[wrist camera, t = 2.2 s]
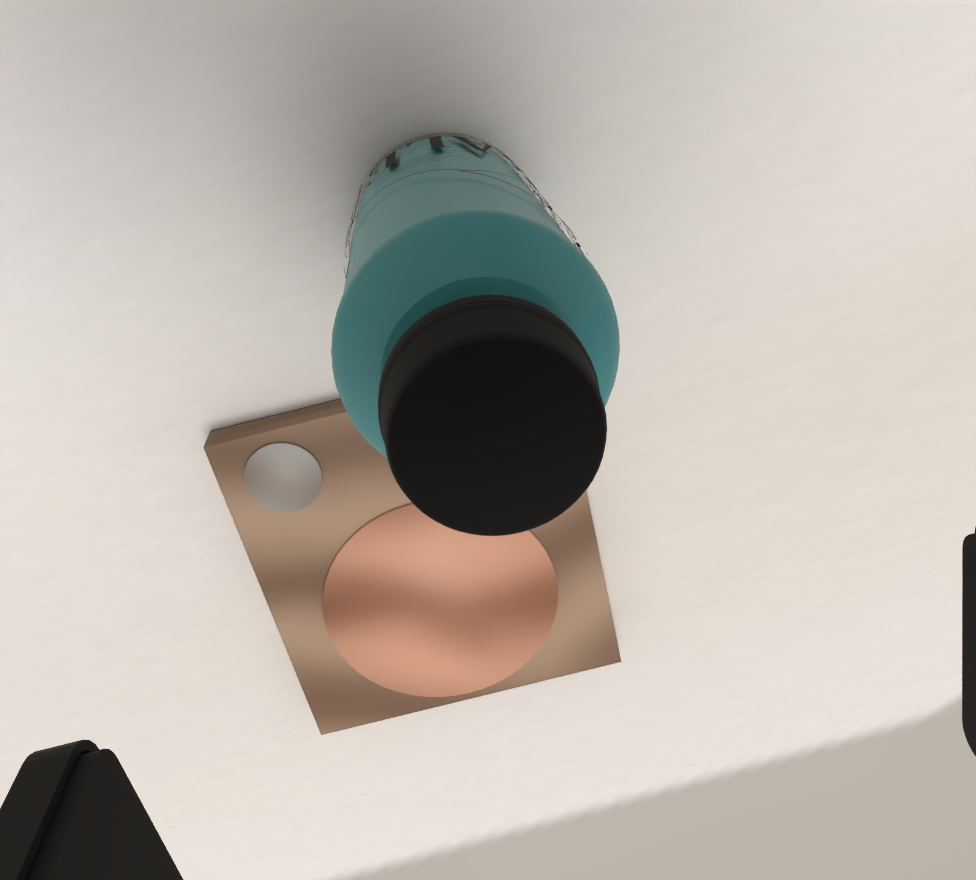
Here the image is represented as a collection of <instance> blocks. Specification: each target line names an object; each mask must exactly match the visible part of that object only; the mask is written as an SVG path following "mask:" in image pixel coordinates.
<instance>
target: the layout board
mask: <svg viewBox="0 0 976 880" xmlns="http://www.w3.org/2000/svg"><path fill="white" fill-rule="evenodd" d="M204 450H205V452H206V455H207V457H208V459H209V462H210V464H211V467H212V469H213V472H214V474H215V477H216V479H217V481H218V484H219V486H220V489H221V491H222V494H223V496H224V499H225V501H226V503H227V506H228V508H229V511H230V513H231V516H232V518H233V520H234V523H235V525H236V528H237V530H238V533H239V535H240V538H241V540H242V542H243V545H244V547H245V550H246V552H247V555H248V557H249V560H250V562H251V564H252V567H253V569H254V572H255V574H256V577H257V579H258V582H259V584H260V586H261V589H262V591H263V594H264V596H265V599H266V601H267V604H268V606H269V608H270V611H271V613H272V616H273V618H274V621H275V623H276V626H277V628H278V630H279V633H280V635H281V638H282V640H283V643H284V645H285V648H286V650H287V652H288V655H289V657H290V660H291V662H292V665H293V667H294V670H295V672H296V674H297V677H298V679H299V682H300V684H301V687H302V689H303V691H304V694H305V696H306V699H307V701H308V704H309V706H310V709H311V711H312V713H313V716H314V718H315V721H316V723H317V726H318V728H319V731H320V733H321V735H323V734H327V733H331V732H336V731H340V730H344V729H348V728H352V727H356V726H360V725H364V724H368V723H372V722H377V721H381V720H385V719H389V718H393V717H397V716H401V715H405V714H409V713H413V712H417V711H422V710H426V709H430V708H434V707H438V706H442V705H446V704H450V703H454V702H458V701H463V700H467V699H471V698H475V697H479V696H483V695H487V694H491V693H495V692H499V691H503V690H508V689H512V688H516V687H520V686H524V685H528V684H532V683H536V682H540V681H544V680H549V679H553V678H557V677H561V676H565V675H569V674H573V673H577V672H581V671H585V670H589V669H594V668H598V667H602V666H606V665H610V664H614V663H618V662H621V658H620V653H619V648H618V643H617V638H616V634H615V629H614V624H613V619H612V614H611V609H610V604H609V599H608V594H607V589H606V585H605V580H604V575H603V570H602V565H601V560H600V555H599V550H598V545H597V540H596V536H595V531H594V526H593V521H592V516H591V511H590V506H589V501H588V496H587V491H585V492H584V493H583V494H582V495H581V497H580V498H579V499H578V500H577V501H576V502H575V503H574V504H573V505H572V506H571V507H570V508H569V509H567V510H566V511H565V512H563V513H562V514H561V515H559V516H558V517H556V518H555V519H553V520H551V521H549V522H548V523H546V524H543V525H541V526H539V527H536V528H534V529H531V530H528V531H524V532H521V533H516V534H511V535H502V536H481V535H474V534H468V533H464V532H460V531H456V530H454V529H451V528H448V527H446V526H444V525H442V524H440V523H438V522H436V521H434V520H433V519H431V518H429V517H428V516H426V515H425V514H424V513H422V512H421V511H420V510H419V509H418V508H417V507H416V506H415V505H414V504H413V503H412V502H411V501H410V500H409V499H408V498H407V496H406V495H405V494H404V493H403V491H402V490H401V488H400V487H399V485H398V484H397V482H396V480H395V478H394V476H393V474H392V472H391V469H390V466H389V462H388V459H387V458H386V457H385V456H383V455H382V454H381V453H379V452H378V451H377V450H376V449H375V448H374V447H373V446H372V445H371V444H370V443H369V442H368V441H367V440H366V439H365V438H364V437H363V435H362V434H361V433H360V432H359V431H358V429H357V428H356V426H355V425H354V423H353V422H352V420H351V419H350V417H349V415H348V413H347V411H346V409H345V407H344V405H343V403H342V401H341V399H338V400H334V401H330V402H326V403H322V404H318V405H314V406H310V407H306V408H302V409H298V410H294V411H290V412H286V413H282V414H278V415H274V416H269V417H265V418H261V419H257V420H253V421H249V422H245V423H241V424H237V425H233V426H229V427H225V428H221V429H217V430H213V431H210V434H209V436H208V438H207V441H206V443H205V445H204Z"/></svg>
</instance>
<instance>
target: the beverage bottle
mask: <svg viewBox="0 0 976 880" xmlns="http://www.w3.org/2000/svg"><path fill="white" fill-rule="evenodd" d="M433 134H436V133H433ZM456 134H458V133H456ZM428 135H429V134H428ZM437 135H438V134H437ZM439 135H440V134H439ZM441 135H442V134H441ZM444 135H445V134H444ZM446 135H447V134H446ZM448 135H449V134H448ZM451 135H452V134H451ZM453 135H455V134H453ZM462 135H463V134H462ZM423 136H424V135H423ZM430 136H431V135H430ZM432 136H433V135H432ZM460 136H461V135H460ZM467 136H468V135H467ZM419 137H420V136H419ZM425 137H426V136H425ZM427 137H428V136H427ZM465 137H466V136H465ZM471 137H472V136H471ZM471 137H470V138H471ZM416 138H417V137H416ZM420 138H421V137H420ZM422 138H423V137H422ZM474 138H475V137H474ZM413 139H414V138H413ZM417 139H418V138H417ZM468 139H469V138H468ZM410 140H411V139H410ZM415 140H416V139H415ZM408 141H409V140H408ZM412 141H413V140H412ZM482 141H483V140H482ZM406 142H407V141H406ZM409 142H411V141H409ZM404 143H405V142H404ZM407 143H408V142H407ZM481 143H482V142H481ZM484 143H485V141H484ZM402 144H403V143H402ZM486 144H487V142H486ZM488 144H489V143H488ZM398 146H399V145H398ZM401 146H402V145H401ZM490 146H491V145H490ZM490 146H488V145H486V146H484V145H481V144H478V143H476V142H473V141H470V140H467V139H465V138H464V137H458V136H451V137H442V136H436V137H430V138H429V139H427V138H425V139H424V140H422V139H421V140H420V141H419V140H418V141H417V142H416V141H415V142H412V143H409V144H407V146H405V147H403V148H401V149H400V148H399V149H400V150H398V149H397V148H396V147H395V148H396V149H397V150H398V151H397V150H396V151H397V152H396V151H394V152H393V153H391V154H390V155H388V156H387V155H386V156H387V157H386V156H385V155H384V156H385V157H386V160H385V161H384V162H383V163H382V164H381V165H380V166H379V167H378V169H377V170H376V171H375V172H374V174H373V175H372V177H371V178H370V180H369V182H368V184H367V186H366V188H365V190H364V192H363V195H362V198H361V201H360V205H359V210H358V214H357V219H356V223H355V228H354V232H353V236H352V241H351V247H350V251H349V253H350V254H349V263H348V269H347V275H346V276H345V277H346V283H345V288H344V293H343V296H342V299H341V302H340V305H339V307H338V310H337V313H336V318H335V323H334V327H333V334H332V348H331V354H332V368H333V373H334V378H335V383H336V387H337V390H338V392H339V395H340V398H341V401H342V403H343V405H344V407H345V409H346V411H347V413H348V415H349V417H350V419H351V420H352V422H353V423H354V425H355V426H356V428H357V429H358V431H359V432H360V433H361V434H362V435H363V437H364V438H365V439H366V440H367V441H368V442H369V443H370V444H371V445H372V446H373V447H374V448H375V449H376V450H377V451H378V452H379V453H381V454H382V455H383V456H385V457H386V458H387V459H388V462H389V466H390V469H391V472H392V474H393V476H394V478H395V480H396V482H397V484H398V485H399V487H400V488H401V490H402V491H403V493H404V494H405V495H406V496H407V498H408V499H409V500H410V501H411V502H412V503H413V504H414V505H415V506H416V507H417V508H418V509H419V510H420V511H421V512H422V513H424V514H425V515H426V516H428V517H429V518H431V519H433V520H434V521H436V522H438V523H440V524H442V525H444V526H446V527H448V528H451V529H454V530H456V531H460V532H464V533H468V534H474V535H481V536H502V535H511V534H516V533H521V532H524V531H528V530H531V529H534V528H536V527H539V526H541V525H543V524H546V523H548V522H549V521H551V520H553V519H555V518H556V517H558V516H559V515H561V514H562V513H563V512H565V511H566V510H567V509H569V508H570V507H571V506H572V505H573V504H574V503H575V502H576V501H577V500H578V499H579V498H580V497H581V495H582V494H583V493H584V492H585V491H586V490H587V488H588V487H589V485H590V484H591V482H592V481H593V479H594V477H595V475H596V473H597V471H598V469H599V466H600V463H601V460H602V458H603V453H604V449H605V443H606V433H607V422H606V413H605V408H604V407H605V405H606V403H607V401H608V399H609V396H610V393H611V391H612V388H613V385H614V381H615V377H616V373H617V369H618V360H619V351H620V349H619V329H618V323H617V316H616V313H615V310H614V306H613V303H612V300H611V297H610V295H609V293H608V290H607V288H606V286H605V284H604V282H603V280H602V279H601V277H600V276H599V274H598V272H597V271H596V269H595V268H594V266H593V265H592V264H591V263H590V262H589V260H588V259H587V258H586V257H585V256H584V254H583V252H582V251H580V250H581V249H580V248H579V249H580V250H579V249H578V247H580V245H579V244H578V243H577V242H576V243H575V244H577V245H576V246H578V247H576V246H575V245H574V244H572V243H571V241H570V240H569V239H568V237H567V236H566V235H565V234H564V231H562V230H561V228H560V226H558V225H559V223H558V225H557V223H556V222H557V221H556V222H555V221H554V220H555V217H554V220H553V217H551V216H550V214H549V213H548V212H547V210H546V209H545V208H546V207H547V206H548V207H549V208H550V211H552V209H553V208H551V206H549V205H547V204H548V203H547V201H545V202H546V203H547V204H546V203H545V202H544V201H543V199H542V198H543V197H542V198H540V197H539V198H540V199H539V200H541V203H542V204H544V203H545V204H546V205H547V206H546V205H545V206H546V207H545V206H544V207H545V208H544V207H543V206H542V204H541V203H540V202H539V200H538V199H537V198H536V197H535V195H534V194H535V193H538V192H539V191H538V192H535V191H534V190H533V192H535V193H534V194H533V193H532V192H531V190H530V189H529V188H528V186H527V185H526V184H525V183H524V181H523V180H522V179H521V177H520V176H519V175H518V174H517V172H516V171H515V170H514V169H513V168H512V167H511V166H510V165H511V164H509V163H508V162H507V161H505V160H504V159H503V158H502V157H501V156H500V155H498V154H497V153H495V152H494V151H492V150H491V149H489V148H490ZM399 147H400V146H399ZM392 150H393V149H392ZM497 151H498V150H497ZM500 153H501V152H500ZM501 154H502V153H501ZM502 155H504V153H503V154H502ZM384 156H383V157H384ZM504 156H505V155H504ZM505 157H506V158H507V159H509V157H507V156H505ZM382 159H383V158H382ZM382 159H381V160H382ZM509 160H510V159H509ZM510 161H511V160H510ZM381 162H382V161H381ZM381 162H380V163H381ZM511 162H512V161H511ZM380 163H379V164H380ZM512 163H513V162H512ZM377 164H378V163H377ZM377 164H375V165H377ZM513 164H514V163H513ZM375 165H374V166H375ZM514 165H515V164H514ZM377 166H378V165H377ZM377 166H376V167H377ZM515 166H516V165H515ZM513 167H514V166H513ZM516 167H517V166H516ZM516 167H515V168H516ZM517 168H518V167H517ZM517 168H516V169H517ZM517 170H519V171H521V170H520V169H519V168H518V169H517ZM373 171H374V170H373ZM373 171H372V172H373ZM372 172H371V173H370V176H371V174H372ZM521 172H522V171H521ZM524 175H525V174H524ZM370 176H369V177H370ZM526 178H527V177H526ZM527 179H528V178H527ZM527 179H526V180H527ZM528 180H529V179H528ZM528 180H527V181H528ZM529 182H530V181H529ZM530 183H531V182H530ZM530 183H529V184H530ZM531 184H532V183H531ZM532 185H533V184H532ZM530 186H531V185H530ZM530 186H529V187H530ZM533 186H534V185H533ZM361 187H362V185H361ZM361 187H360V188H361ZM534 188H535V187H534ZM532 189H533V188H532ZM535 189H536V188H535ZM359 190H360V191H361V189H359ZM536 190H537V189H536ZM359 195H360V193H359ZM537 195H538V194H537ZM540 195H541V194H540ZM541 196H542V195H541ZM358 199H359V197H358ZM356 200H357V199H356ZM544 200H545V199H544ZM542 201H543V202H544V203H543V202H542ZM355 203H356V202H355ZM357 203H358V201H357ZM354 206H355V205H354ZM356 207H357V205H356ZM355 211H356V209H355ZM551 213H553V214H555V213H554V212H553V211H552V212H551ZM352 214H353V213H352ZM553 214H551V215H553ZM354 215H355V213H354ZM555 215H556V214H555ZM555 215H554V216H555ZM556 216H557V215H556ZM351 218H352V217H351ZM353 219H354V217H353ZM351 222H352V223H353V221H352V219H351ZM562 222H563V221H562ZM563 223H564V222H563ZM560 224H561V223H560ZM564 224H565V223H564ZM565 225H566V224H565ZM565 225H564V226H565ZM349 226H350V225H349ZM351 226H352V225H351ZM566 226H567V225H566ZM351 228H352V227H351ZM351 228H350V229H351ZM565 228H566V227H565ZM567 228H568V227H567ZM562 229H563V228H562ZM568 229H569V228H568ZM566 230H567V229H566ZM569 230H570V229H569ZM570 231H571V230H570ZM568 232H569V231H568ZM571 232H572V231H571ZM348 233H349V232H348ZM348 233H347V234H348ZM568 234H570V233H568ZM347 236H348V235H347ZM349 236H350V234H349ZM569 236H570V235H569ZM571 237H572V236H571ZM573 237H574V236H573ZM347 238H348V237H347ZM574 238H575V237H574ZM572 239H573V238H572ZM575 239H576V238H575ZM346 241H347V240H346ZM349 242H350V241H349ZM572 242H573V241H572ZM573 243H574V242H573ZM349 244H350V243H349ZM346 246H347V242H346ZM587 255H588V254H587ZM346 258H347V255H346ZM344 271H345V269H344Z"/></svg>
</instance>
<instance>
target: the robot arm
mask: <svg viewBox="0 0 976 880" xmlns="http://www.w3.org/2000/svg"><path fill="white" fill-rule="evenodd" d="M962 721H963V729H964V732H965V736H966V739H967V741H968V744H969V746H970V748H971V749H972V751H973V753H974V755H975V756H976V528H975V533H974V534H970V535H968V536H966V537H965V539H964V541H963V599H962ZM0 880H183V878H182V876H181V875H180V873H179V871H178V869H177V867H176V865H175V864H174V862H173V860H172V858H171V856H170V854H169V852H168V851H167V849H166V847H165V845H164V843H163V841H162V840H161V838H160V836H159V834H158V832H157V830H156V828H155V827H154V825H153V823H152V821H151V819H150V817H149V816H148V814H147V812H146V810H145V808H144V806H143V805H142V803H141V801H140V799H139V797H138V795H137V793H136V792H135V790H134V788H133V786H132V784H131V782H130V781H129V779H128V777H127V775H126V773H125V771H124V769H123V768H122V766H121V764H120V762H119V760H118V758H117V757H116V755H115V754H114V753H113V752H112V751H111V750H109V749H102V750H99V749H98V747H97V746H96V744H94V743H93V742H91V741H90V740H80V741H76V742H72V743H68V744H64V745H60V746H56V747H52V748H48V749H44V750H40V751H36V752H34V753H32V754H30V755H29V756H28V757H27V758H26V760H25V761H24V763H23V764H22V766H21V768H20V770H19V772H18V774H17V776H16V778H15V780H14V782H13V784H12V786H11V788H10V790H9V792H8V794H7V796H6V798H5V800H4V802H3V804H2V806H1V808H0Z"/></svg>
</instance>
